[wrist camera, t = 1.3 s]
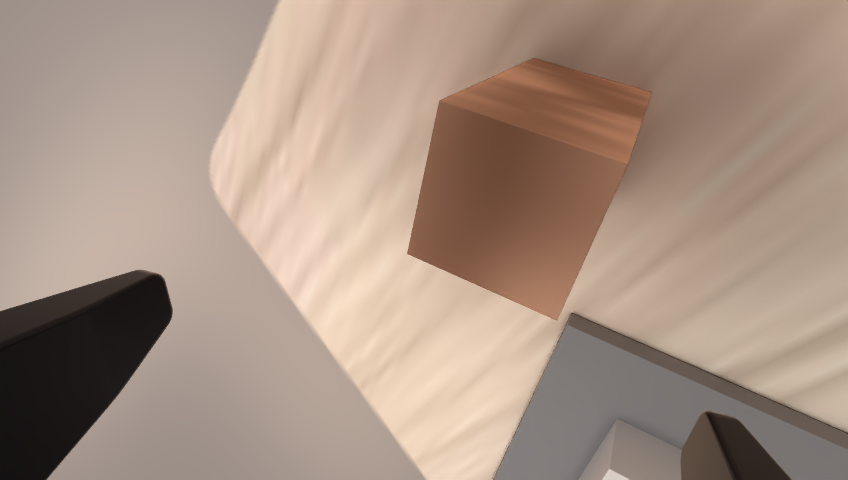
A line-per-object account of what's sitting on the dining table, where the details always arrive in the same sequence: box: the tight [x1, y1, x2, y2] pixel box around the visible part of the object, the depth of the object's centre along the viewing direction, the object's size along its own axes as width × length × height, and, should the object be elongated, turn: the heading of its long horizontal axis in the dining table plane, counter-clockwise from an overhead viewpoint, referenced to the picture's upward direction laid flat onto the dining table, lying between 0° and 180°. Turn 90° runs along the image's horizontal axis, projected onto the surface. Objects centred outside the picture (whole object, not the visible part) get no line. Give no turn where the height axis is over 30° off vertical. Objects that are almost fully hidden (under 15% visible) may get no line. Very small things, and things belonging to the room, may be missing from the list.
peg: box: [407, 58, 651, 320], centre depth 16 cm, size 4×4×9 cm
